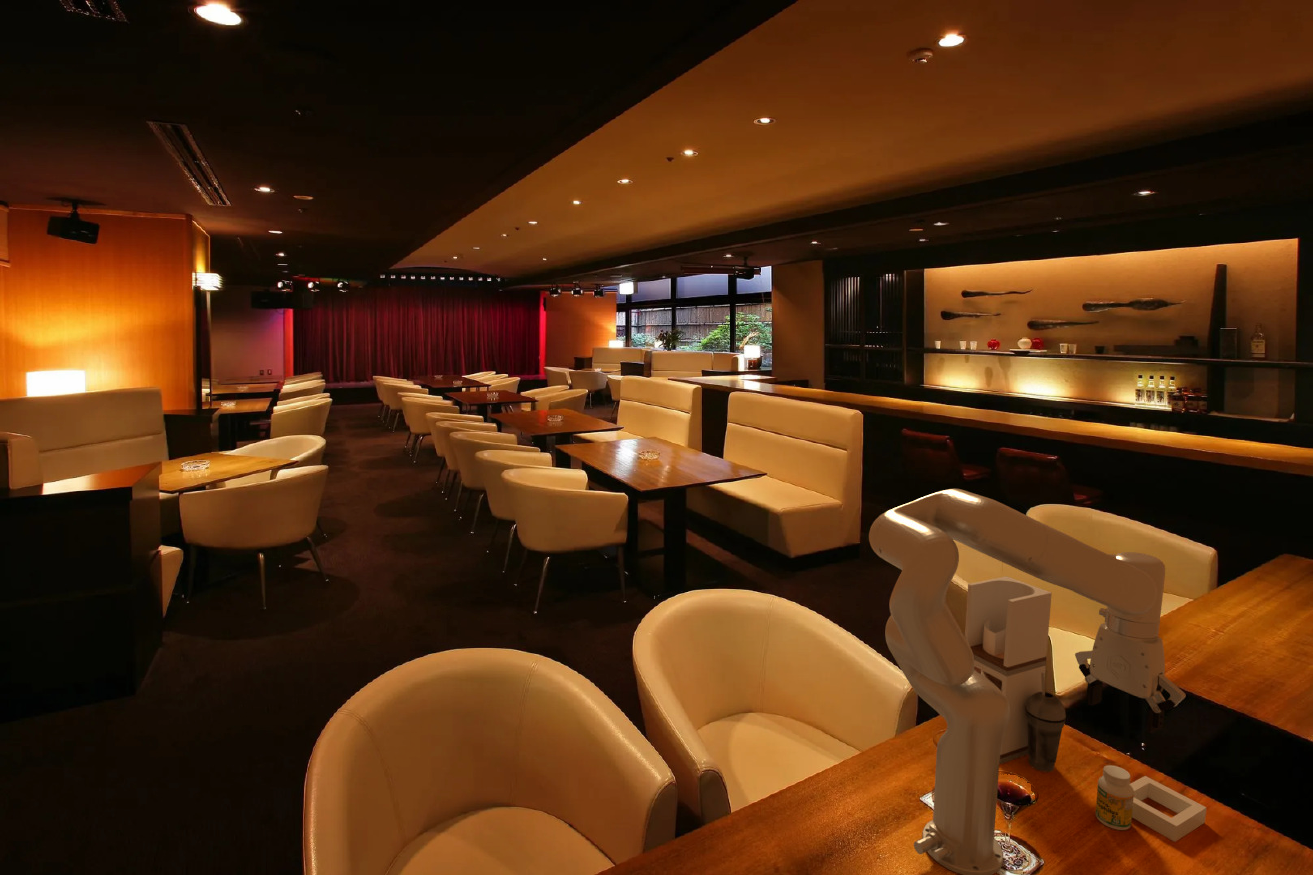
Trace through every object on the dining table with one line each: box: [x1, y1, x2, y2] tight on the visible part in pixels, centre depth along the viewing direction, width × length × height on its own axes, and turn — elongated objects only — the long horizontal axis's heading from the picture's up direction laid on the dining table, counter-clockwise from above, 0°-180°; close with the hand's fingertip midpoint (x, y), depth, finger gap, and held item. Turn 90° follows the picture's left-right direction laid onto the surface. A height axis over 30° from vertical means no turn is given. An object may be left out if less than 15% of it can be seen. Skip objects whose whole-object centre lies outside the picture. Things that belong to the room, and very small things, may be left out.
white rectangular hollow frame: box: [1130, 775, 1207, 843], centre depth 122 cm, size 10×10×3 cm
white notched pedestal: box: [964, 576, 1053, 765], centre depth 142 cm, size 11×11×35 cm
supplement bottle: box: [1095, 765, 1134, 831], centre depth 120 cm, size 5×5×10 cm
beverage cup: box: [1025, 673, 1067, 773], centre depth 135 cm, size 7×7×20 cm
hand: (1122, 716), depth 118 cm, fingers open, 9 cm apart
